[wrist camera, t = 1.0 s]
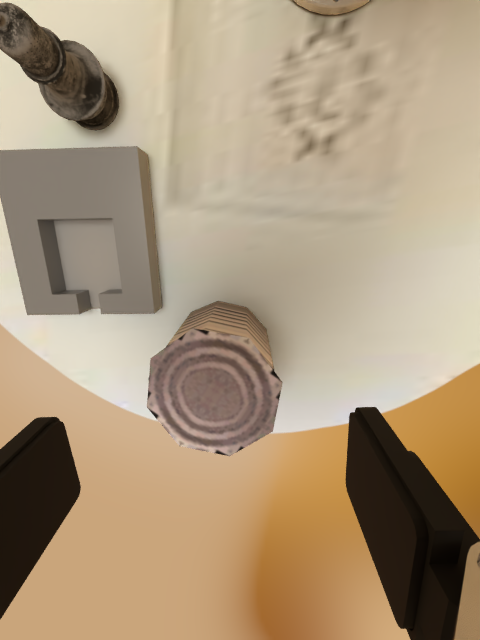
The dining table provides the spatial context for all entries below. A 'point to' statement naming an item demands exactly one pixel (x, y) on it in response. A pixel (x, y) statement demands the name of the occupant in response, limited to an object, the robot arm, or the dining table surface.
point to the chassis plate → (82, 229)
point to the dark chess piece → (59, 70)
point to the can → (216, 381)
